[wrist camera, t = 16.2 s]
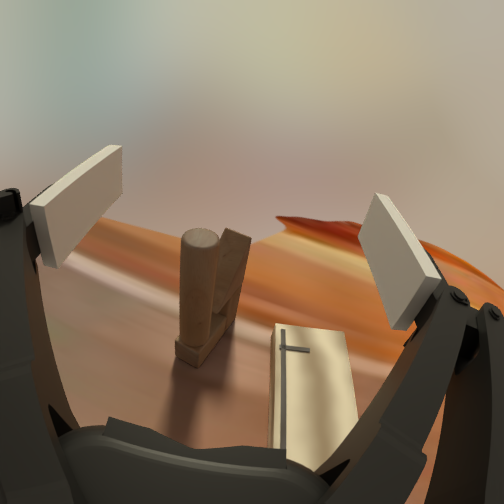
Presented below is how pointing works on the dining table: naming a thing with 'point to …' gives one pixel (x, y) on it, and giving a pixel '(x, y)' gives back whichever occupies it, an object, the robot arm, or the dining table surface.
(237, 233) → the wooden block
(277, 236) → the dining table surface
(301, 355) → the maple board
